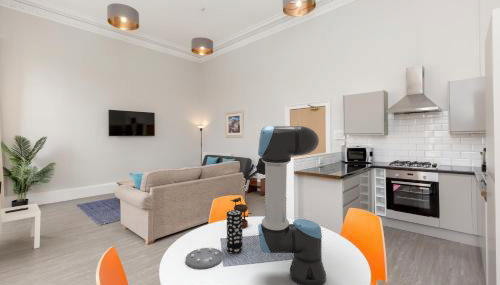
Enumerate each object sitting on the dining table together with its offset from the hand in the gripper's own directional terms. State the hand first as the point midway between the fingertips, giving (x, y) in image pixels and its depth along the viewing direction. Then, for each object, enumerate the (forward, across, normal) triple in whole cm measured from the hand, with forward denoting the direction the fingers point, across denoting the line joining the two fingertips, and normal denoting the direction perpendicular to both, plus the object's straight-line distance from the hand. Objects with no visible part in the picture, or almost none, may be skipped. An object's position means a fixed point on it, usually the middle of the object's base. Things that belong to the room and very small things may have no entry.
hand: (256, 194), depth 140 cm
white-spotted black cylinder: (+30, +1, +12) cm, 32 cm away
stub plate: (+35, +11, +25) cm, 44 cm away
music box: (+26, +10, -22) cm, 35 cm away
